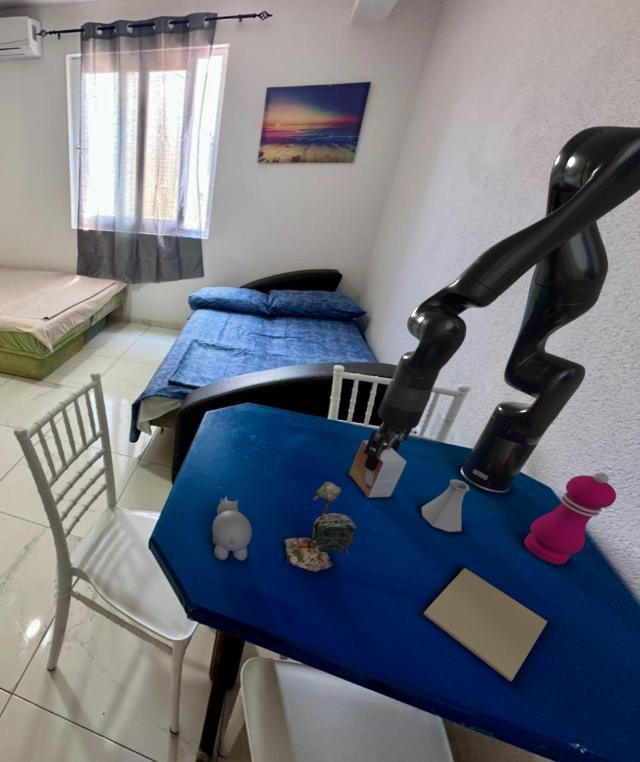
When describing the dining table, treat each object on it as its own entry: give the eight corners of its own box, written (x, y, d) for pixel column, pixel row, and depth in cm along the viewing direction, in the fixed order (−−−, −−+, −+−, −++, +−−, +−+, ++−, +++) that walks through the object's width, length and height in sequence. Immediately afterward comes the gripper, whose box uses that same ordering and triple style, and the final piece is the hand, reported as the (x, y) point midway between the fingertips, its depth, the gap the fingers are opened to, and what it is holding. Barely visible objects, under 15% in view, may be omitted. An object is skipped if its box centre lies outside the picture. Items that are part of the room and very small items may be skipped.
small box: (348, 474, 99) (361, 439, 94) (369, 473, 100) (384, 439, 94) (367, 498, 92) (383, 462, 87) (391, 497, 93) (407, 461, 87)
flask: (467, 536, 83) (490, 500, 79) (429, 529, 85) (448, 494, 80) (450, 510, 90) (470, 475, 85) (415, 504, 91) (432, 470, 86)
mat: (463, 569, 76) (464, 567, 76) (545, 623, 68) (547, 621, 67) (422, 614, 68) (424, 612, 68) (510, 681, 60) (512, 679, 59)
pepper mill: (556, 542, 83) (616, 466, 73) (577, 571, 77) (645, 493, 67) (514, 532, 85) (566, 456, 75) (531, 560, 79) (590, 482, 69)
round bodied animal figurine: (240, 517, 86) (247, 486, 82) (249, 566, 76) (258, 534, 72) (206, 513, 87) (211, 483, 83) (210, 562, 76) (216, 530, 72)
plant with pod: (347, 585, 73) (384, 503, 63) (281, 564, 76) (307, 484, 67) (343, 549, 80) (376, 471, 70) (282, 532, 83) (306, 455, 73)
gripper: (406, 419, 78) (378, 483, 86) (440, 400, 85) (412, 461, 93) (368, 402, 84) (345, 463, 92) (403, 385, 91) (379, 443, 99)
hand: (379, 462), depth 92 cm, fingers closed on small box, 7 cm apart
